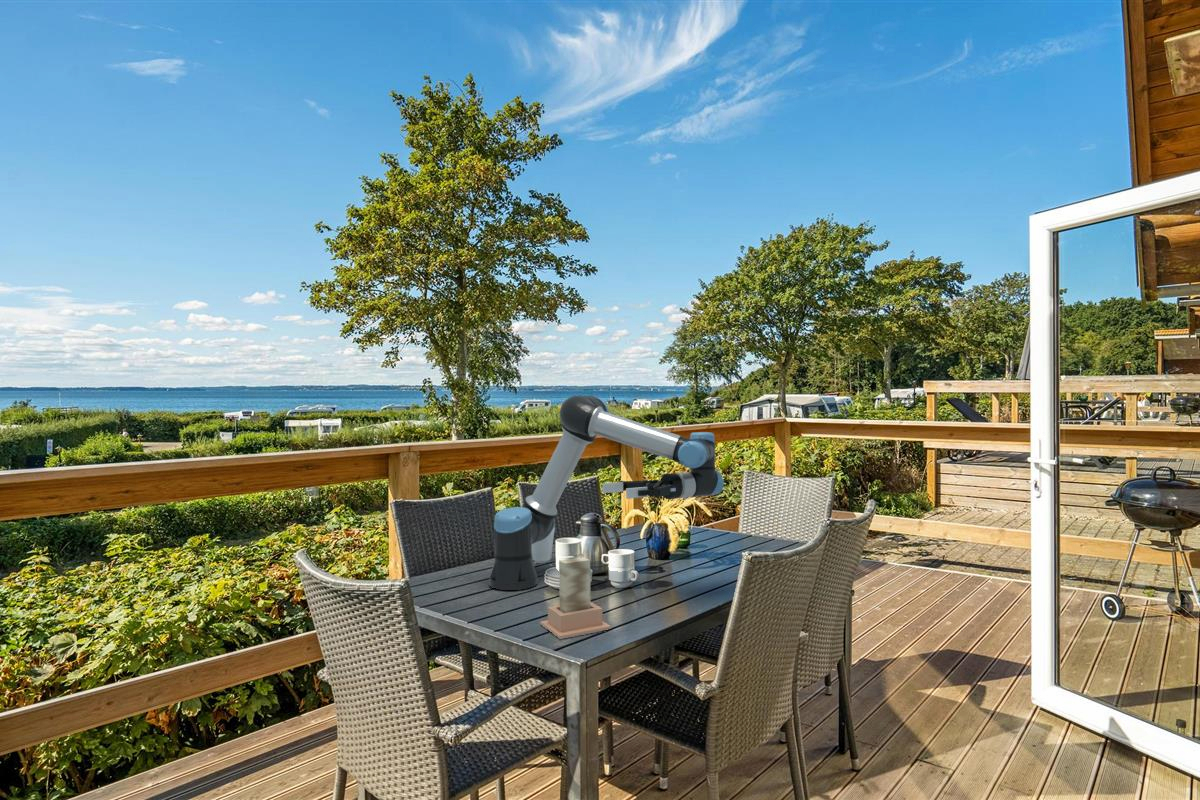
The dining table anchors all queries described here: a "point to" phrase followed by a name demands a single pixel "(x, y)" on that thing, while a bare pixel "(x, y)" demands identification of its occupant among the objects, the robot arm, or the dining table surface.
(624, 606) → the dining table surface
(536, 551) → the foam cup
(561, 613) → the pink slotted socket
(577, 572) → the mottled beige block
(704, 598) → the dining table surface
